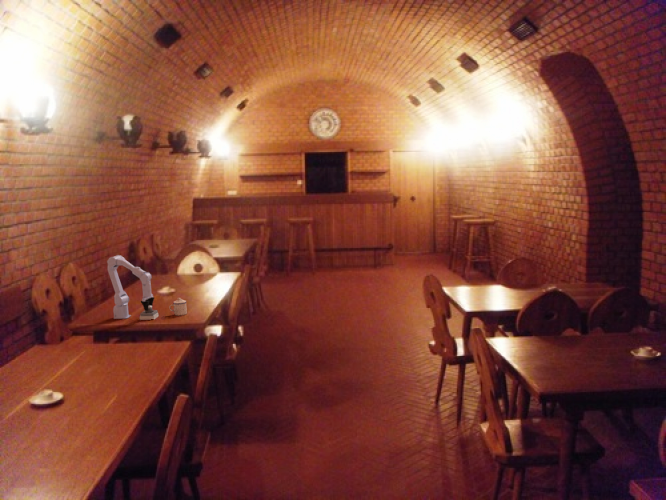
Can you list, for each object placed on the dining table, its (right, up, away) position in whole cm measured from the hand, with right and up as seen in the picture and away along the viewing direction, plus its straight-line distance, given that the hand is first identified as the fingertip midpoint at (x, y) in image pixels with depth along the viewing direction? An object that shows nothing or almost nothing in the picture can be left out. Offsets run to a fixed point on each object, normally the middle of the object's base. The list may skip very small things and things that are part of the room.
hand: (148, 309), depth 412 cm
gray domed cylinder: (0, -4, +1) cm, 4 cm away
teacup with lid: (+19, -5, +8) cm, 21 cm away
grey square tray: (0, -6, +1) cm, 6 cm away
